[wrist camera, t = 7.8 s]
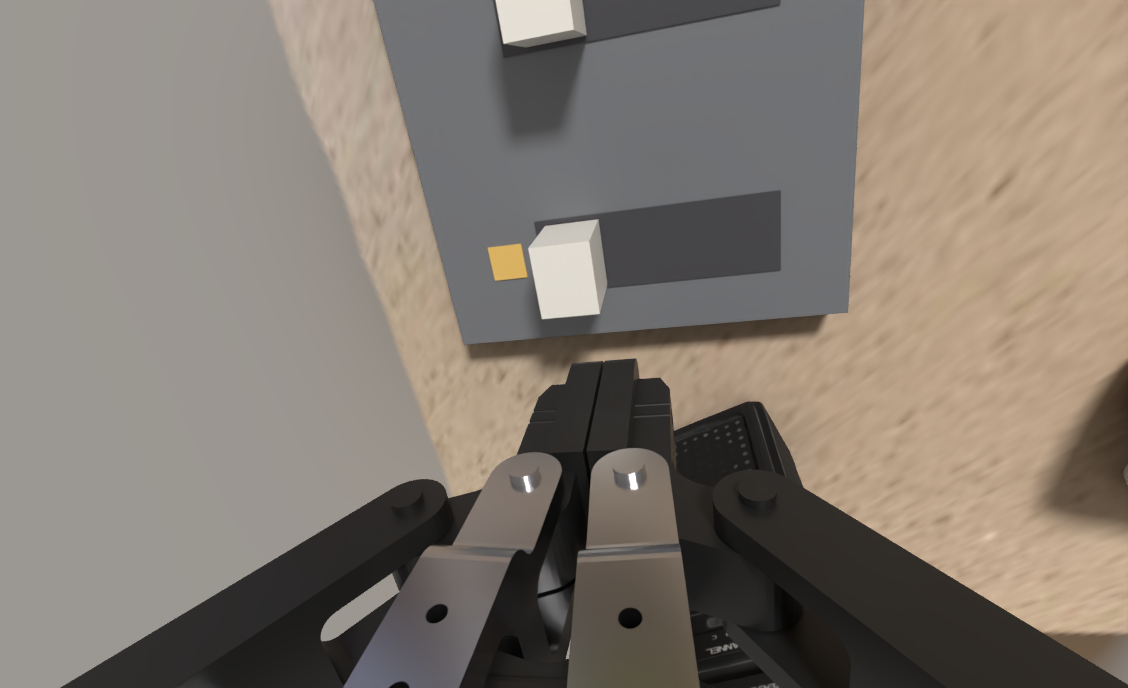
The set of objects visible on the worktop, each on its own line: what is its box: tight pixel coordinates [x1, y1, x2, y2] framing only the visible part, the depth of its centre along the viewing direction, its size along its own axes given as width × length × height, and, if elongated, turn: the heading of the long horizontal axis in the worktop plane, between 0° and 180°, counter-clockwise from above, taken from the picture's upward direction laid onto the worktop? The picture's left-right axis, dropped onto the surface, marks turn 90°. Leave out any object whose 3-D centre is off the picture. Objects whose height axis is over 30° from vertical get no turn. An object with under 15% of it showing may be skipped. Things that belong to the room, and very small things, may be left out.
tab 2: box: [528, 219, 607, 319], centre depth 24 cm, size 2×3×4 cm
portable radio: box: [674, 401, 803, 688], centre depth 20 cm, size 8×6×25 cm
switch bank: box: [374, 0, 864, 345], centre depth 24 cm, size 18×18×2 cm
